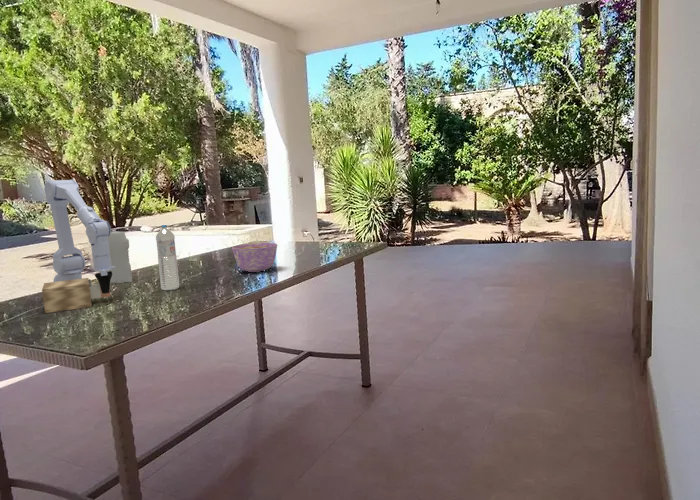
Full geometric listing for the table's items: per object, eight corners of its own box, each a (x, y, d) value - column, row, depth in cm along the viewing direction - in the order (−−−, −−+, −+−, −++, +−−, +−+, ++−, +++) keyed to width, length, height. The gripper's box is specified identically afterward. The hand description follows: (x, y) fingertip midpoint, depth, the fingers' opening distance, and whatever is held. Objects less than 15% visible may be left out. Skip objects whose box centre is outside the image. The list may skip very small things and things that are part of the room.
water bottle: (169, 291, 199) (162, 226, 196) (157, 290, 203) (150, 226, 200) (183, 287, 205) (177, 224, 202) (171, 286, 209) (165, 224, 205)
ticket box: (45, 313, 174) (41, 289, 173) (47, 305, 186) (44, 283, 185) (93, 306, 180) (90, 283, 179) (92, 298, 193) (90, 277, 192)
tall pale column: (135, 280, 226) (130, 230, 223) (130, 282, 222) (125, 231, 219) (112, 281, 227) (106, 231, 224) (107, 283, 223) (101, 232, 220)
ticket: (50, 304, 180) (48, 290, 179) (50, 303, 181) (48, 289, 180) (110, 296, 188) (108, 282, 188) (110, 295, 189) (108, 282, 189)
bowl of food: (226, 276, 226) (224, 249, 224) (243, 268, 246) (241, 243, 244) (271, 275, 223) (269, 248, 221) (284, 266, 242) (282, 242, 241)
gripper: (114, 256, 182) (119, 294, 183) (112, 252, 194) (116, 287, 196) (92, 258, 178) (97, 297, 180) (91, 254, 191) (95, 290, 193)
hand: (105, 292), depth 188 cm, fingers closed on ticket
